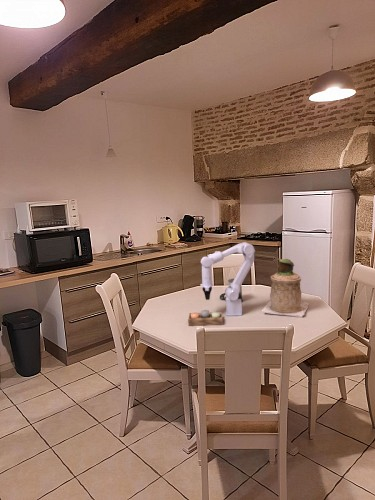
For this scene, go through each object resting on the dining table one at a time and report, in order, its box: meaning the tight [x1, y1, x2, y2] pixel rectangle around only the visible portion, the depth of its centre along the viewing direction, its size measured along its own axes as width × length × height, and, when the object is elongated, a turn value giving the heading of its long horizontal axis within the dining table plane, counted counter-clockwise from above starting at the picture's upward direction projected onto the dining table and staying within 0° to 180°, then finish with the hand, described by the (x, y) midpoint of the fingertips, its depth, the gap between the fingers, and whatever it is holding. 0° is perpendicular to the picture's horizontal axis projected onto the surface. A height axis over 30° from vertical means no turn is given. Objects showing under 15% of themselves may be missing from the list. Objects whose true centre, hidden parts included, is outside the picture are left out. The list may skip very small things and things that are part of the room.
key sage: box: [212, 311, 220, 318], centre depth 200 cm, size 5×5×4 cm
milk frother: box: [219, 278, 244, 302], centre depth 236 cm, size 14×16×15 cm
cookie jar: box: [261, 258, 309, 318], centre depth 211 cm, size 25×25×32 cm
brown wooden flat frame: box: [187, 311, 224, 327], centre depth 201 cm, size 19×12×3 cm, turn 86°
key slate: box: [200, 309, 210, 318], centre depth 201 cm, size 5×5×4 cm
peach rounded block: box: [190, 312, 200, 318], centre depth 201 cm, size 5×5×4 cm
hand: (207, 299), depth 208 cm, fingers closed
